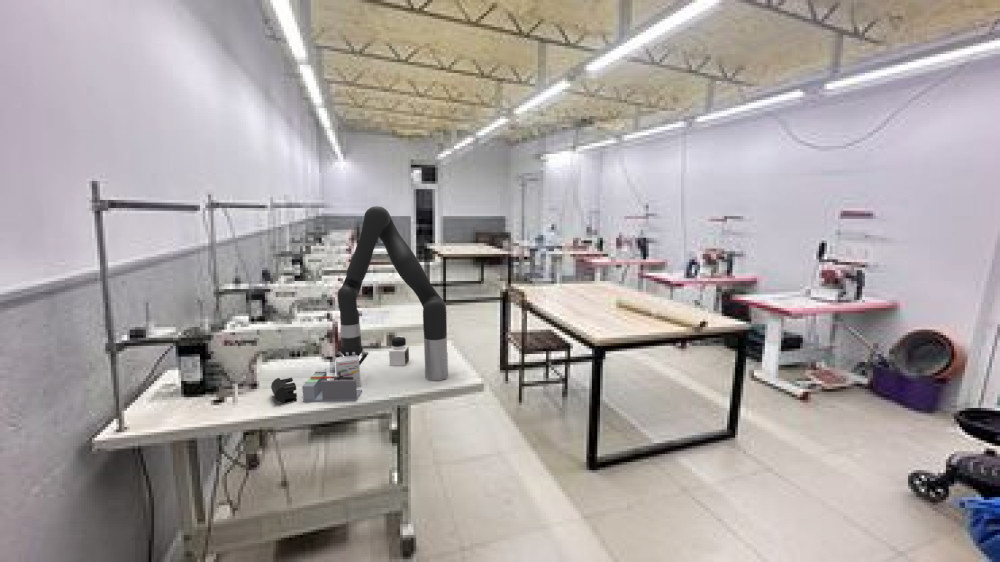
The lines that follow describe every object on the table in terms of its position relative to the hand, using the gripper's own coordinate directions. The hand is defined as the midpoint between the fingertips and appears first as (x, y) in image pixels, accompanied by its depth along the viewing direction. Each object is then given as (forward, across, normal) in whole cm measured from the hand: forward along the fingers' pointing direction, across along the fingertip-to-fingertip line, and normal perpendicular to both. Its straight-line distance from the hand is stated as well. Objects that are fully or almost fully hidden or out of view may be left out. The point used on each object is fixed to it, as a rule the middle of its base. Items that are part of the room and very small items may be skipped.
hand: (353, 375), depth 174 cm
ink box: (+3, 0, +5) cm, 6 cm away
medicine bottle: (+3, -15, -19) cm, 25 cm away
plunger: (+2, +5, +11) cm, 12 cm away
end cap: (+3, +21, +14) cm, 26 cm away
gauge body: (+3, +4, +11) cm, 12 cm away
